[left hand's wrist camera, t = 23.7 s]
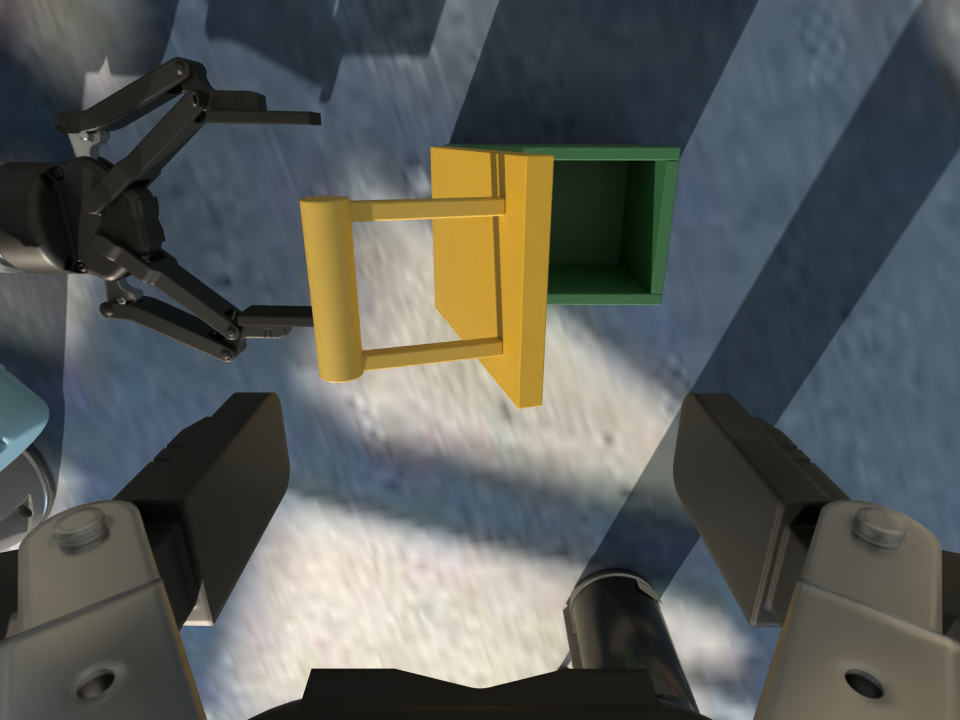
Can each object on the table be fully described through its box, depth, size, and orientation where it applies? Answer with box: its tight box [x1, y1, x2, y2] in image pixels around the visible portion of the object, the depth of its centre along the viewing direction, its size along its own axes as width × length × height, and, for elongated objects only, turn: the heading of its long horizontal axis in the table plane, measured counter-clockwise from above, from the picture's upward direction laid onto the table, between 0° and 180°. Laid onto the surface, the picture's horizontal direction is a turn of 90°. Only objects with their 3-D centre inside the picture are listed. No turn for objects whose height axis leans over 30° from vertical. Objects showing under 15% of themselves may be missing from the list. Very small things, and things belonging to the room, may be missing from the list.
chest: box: [444, 143, 681, 305], centre depth 41 cm, size 15×10×10 cm
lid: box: [300, 146, 554, 409], centre depth 27 cm, size 15×10×9 cm
